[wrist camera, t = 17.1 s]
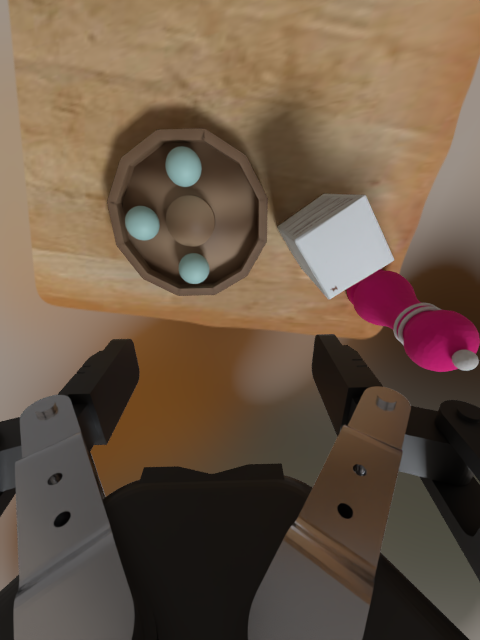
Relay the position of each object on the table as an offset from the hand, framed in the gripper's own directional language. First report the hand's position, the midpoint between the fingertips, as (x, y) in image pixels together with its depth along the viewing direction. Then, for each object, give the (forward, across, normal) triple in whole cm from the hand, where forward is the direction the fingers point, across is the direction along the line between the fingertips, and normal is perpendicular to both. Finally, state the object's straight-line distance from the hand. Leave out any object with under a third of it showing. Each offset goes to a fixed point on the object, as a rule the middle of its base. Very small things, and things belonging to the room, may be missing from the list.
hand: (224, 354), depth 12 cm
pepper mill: (+28, -20, +7) cm, 35 cm away
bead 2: (+25, +5, -9) cm, 27 cm away
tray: (+28, +5, -3) cm, 29 cm away
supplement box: (+28, -11, -1) cm, 30 cm away
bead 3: (+25, +5, +3) cm, 26 cm away
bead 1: (+25, +11, -3) cm, 27 cm away
